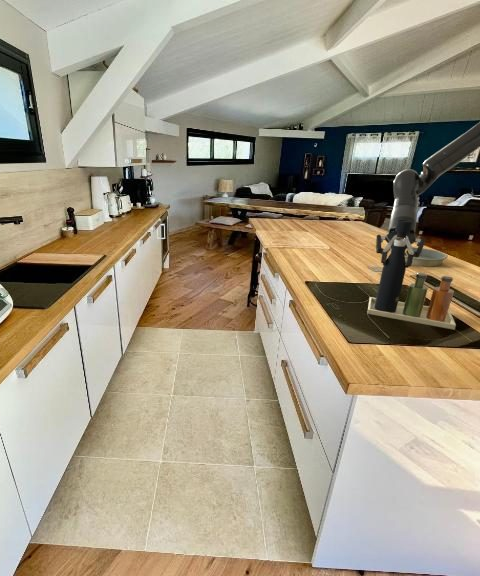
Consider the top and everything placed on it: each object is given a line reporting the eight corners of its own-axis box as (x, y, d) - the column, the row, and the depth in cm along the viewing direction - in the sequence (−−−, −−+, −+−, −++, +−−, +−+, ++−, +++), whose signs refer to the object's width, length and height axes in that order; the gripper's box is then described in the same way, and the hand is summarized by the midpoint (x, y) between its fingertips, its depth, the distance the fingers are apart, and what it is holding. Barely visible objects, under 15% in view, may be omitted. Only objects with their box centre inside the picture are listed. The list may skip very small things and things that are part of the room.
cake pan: (390, 264, 157) (392, 255, 156) (386, 252, 178) (387, 245, 176) (451, 270, 147) (454, 261, 146) (438, 257, 168) (441, 249, 166)
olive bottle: (419, 313, 104) (430, 273, 99) (420, 318, 100) (432, 277, 95) (401, 309, 107) (411, 271, 102) (402, 315, 103) (412, 275, 98)
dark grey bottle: (373, 303, 111) (391, 218, 100) (394, 306, 109) (415, 219, 98) (374, 311, 106) (393, 222, 95) (396, 314, 103) (419, 223, 92)
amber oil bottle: (443, 317, 101) (456, 276, 96) (446, 323, 97) (459, 281, 92) (425, 313, 104) (436, 274, 99) (426, 319, 100) (438, 278, 95)
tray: (447, 315, 104) (449, 309, 103) (454, 331, 94) (456, 325, 93) (368, 301, 115) (369, 296, 114) (367, 314, 105) (368, 309, 104)
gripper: (379, 213, 105) (371, 256, 100) (431, 216, 99) (425, 262, 93) (377, 227, 112) (369, 267, 106) (425, 230, 105) (420, 274, 100)
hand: (395, 265), depth 100 cm, fingers closed on dark grey bottle, 5 cm apart
